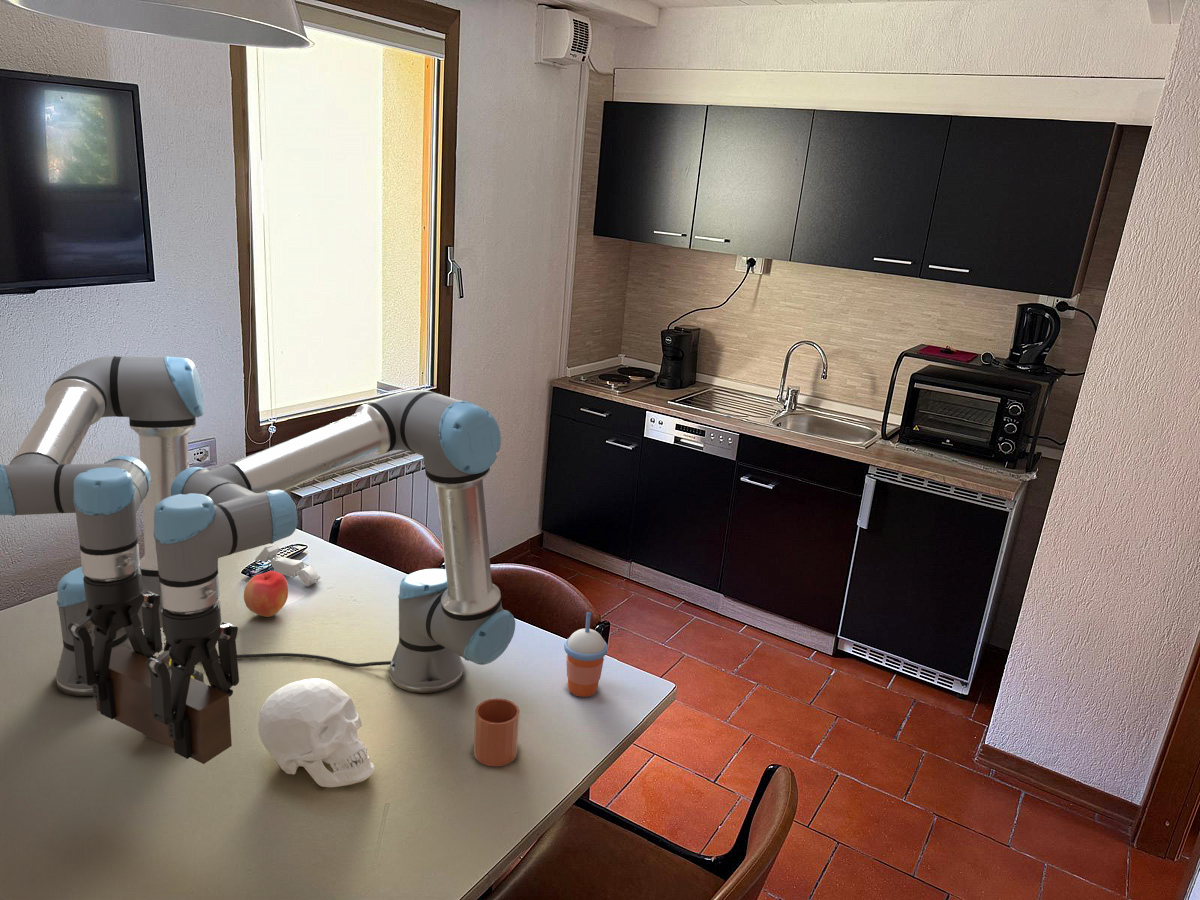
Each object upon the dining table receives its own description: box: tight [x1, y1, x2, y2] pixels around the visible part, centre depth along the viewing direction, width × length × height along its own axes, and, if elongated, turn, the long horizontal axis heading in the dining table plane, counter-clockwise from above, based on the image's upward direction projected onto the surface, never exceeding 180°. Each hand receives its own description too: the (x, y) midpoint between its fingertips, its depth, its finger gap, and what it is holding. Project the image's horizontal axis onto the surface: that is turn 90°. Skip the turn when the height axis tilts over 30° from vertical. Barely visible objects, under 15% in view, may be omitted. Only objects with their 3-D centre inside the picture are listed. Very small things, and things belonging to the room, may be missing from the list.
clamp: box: [254, 544, 322, 587], centre depth 219 cm, size 20×4×7 cm, turn 62°
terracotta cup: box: [473, 697, 521, 767], centre depth 158 cm, size 8×8×9 cm
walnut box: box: [95, 646, 233, 765], centre depth 129 cm, size 24×5×9 cm, turn 63°
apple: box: [243, 570, 289, 618], centre depth 199 cm, size 10×10×10 cm
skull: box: [257, 677, 375, 788], centre depth 150 cm, size 13×22×16 cm, turn 73°
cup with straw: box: [563, 611, 609, 698], centre depth 179 cm, size 9×9×18 cm
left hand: (125, 706), depth 134 cm, fingers closed on walnut box, 5 cm apart
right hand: (201, 743), depth 127 cm, fingers open, 5 cm apart
